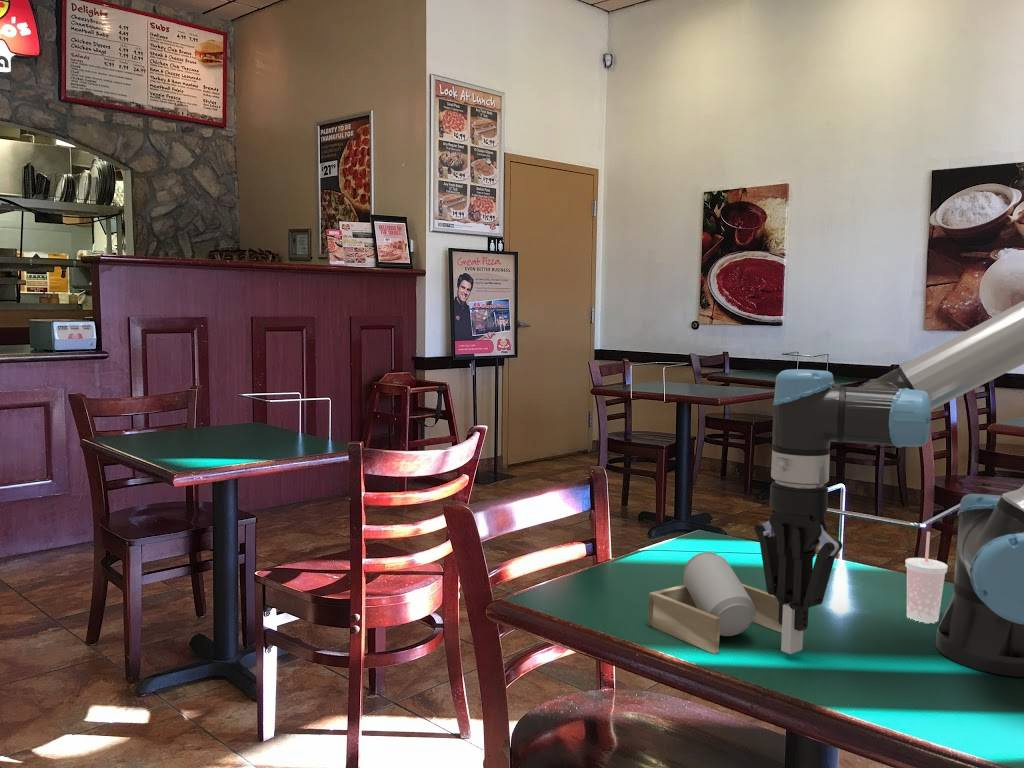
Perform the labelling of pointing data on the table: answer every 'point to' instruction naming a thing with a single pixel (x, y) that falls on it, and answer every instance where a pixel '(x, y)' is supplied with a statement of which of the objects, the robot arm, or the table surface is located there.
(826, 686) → the table surface
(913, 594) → the beverage cup
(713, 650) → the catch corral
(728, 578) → the can
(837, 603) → the table surface
